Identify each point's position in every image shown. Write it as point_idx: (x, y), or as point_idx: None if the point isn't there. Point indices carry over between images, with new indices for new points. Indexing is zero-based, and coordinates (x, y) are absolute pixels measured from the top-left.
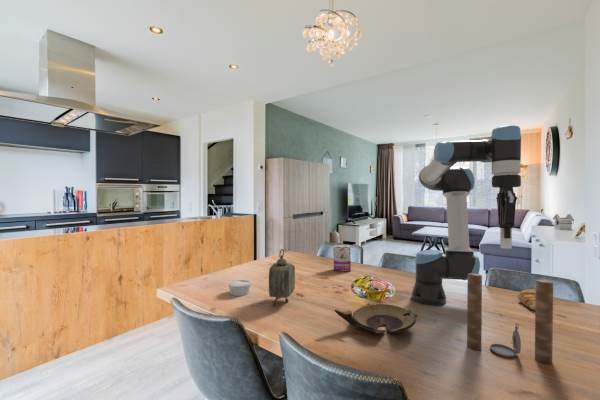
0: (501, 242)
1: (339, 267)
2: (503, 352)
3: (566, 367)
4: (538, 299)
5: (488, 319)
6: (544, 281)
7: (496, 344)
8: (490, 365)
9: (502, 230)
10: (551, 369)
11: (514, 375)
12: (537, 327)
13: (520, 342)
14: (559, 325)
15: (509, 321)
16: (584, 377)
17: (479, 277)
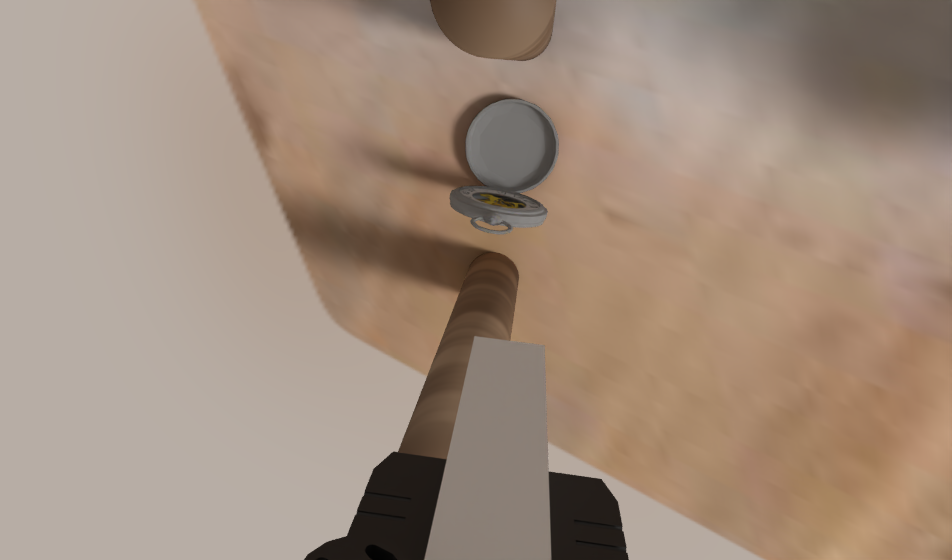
0: (470, 379)
1: None
2: (504, 147)
3: None
4: (441, 368)
5: (877, 203)
6: None
7: (554, 137)
8: (385, 57)
9: (427, 546)
10: (434, 273)
11: (346, 126)
12: (468, 301)
13: (453, 207)
14: (842, 491)
15: (862, 301)
16: (418, 349)
17: (437, 21)
